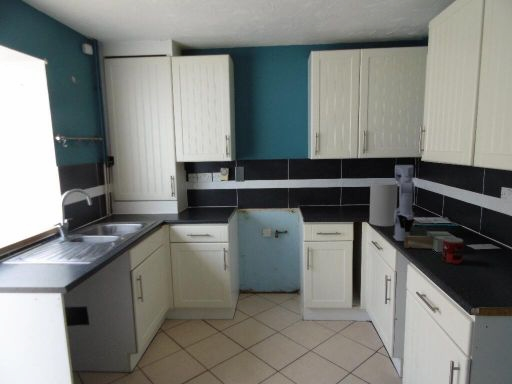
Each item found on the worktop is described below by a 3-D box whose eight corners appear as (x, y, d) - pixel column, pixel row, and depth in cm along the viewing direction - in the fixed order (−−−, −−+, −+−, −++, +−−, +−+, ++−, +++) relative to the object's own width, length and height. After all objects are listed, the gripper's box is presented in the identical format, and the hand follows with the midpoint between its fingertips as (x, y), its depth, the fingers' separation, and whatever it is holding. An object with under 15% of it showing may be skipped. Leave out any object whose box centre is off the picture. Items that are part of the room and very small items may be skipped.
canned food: (443, 257, 159) (444, 235, 157) (462, 261, 154) (464, 238, 152) (440, 262, 153) (441, 239, 151) (460, 266, 148) (462, 242, 146)
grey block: (425, 244, 179) (425, 231, 178) (446, 244, 178) (447, 231, 176) (435, 253, 165) (436, 238, 164) (458, 253, 164) (459, 239, 163)
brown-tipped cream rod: (404, 246, 175) (404, 235, 174) (431, 247, 173) (432, 236, 172) (405, 247, 173) (405, 236, 172) (433, 248, 171) (434, 237, 170)
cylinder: (398, 226, 217) (400, 184, 213) (371, 225, 221) (372, 184, 217) (393, 220, 234) (394, 181, 230) (367, 219, 238) (368, 181, 234)
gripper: (418, 207, 165) (417, 233, 167) (409, 202, 179) (408, 226, 181) (404, 207, 166) (403, 233, 168) (396, 202, 180) (395, 226, 182)
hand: (405, 230), depth 175 cm, fingers open, 7 cm apart
